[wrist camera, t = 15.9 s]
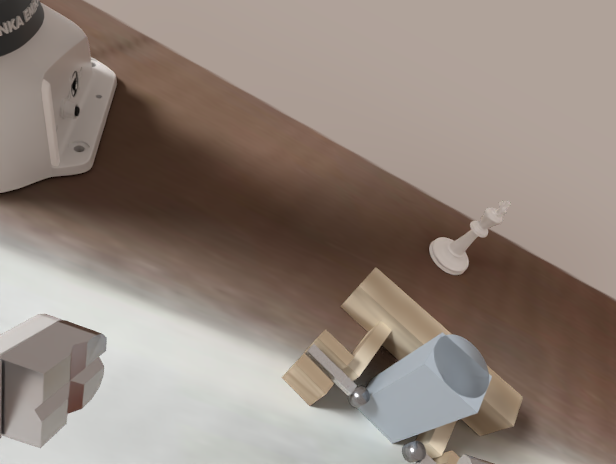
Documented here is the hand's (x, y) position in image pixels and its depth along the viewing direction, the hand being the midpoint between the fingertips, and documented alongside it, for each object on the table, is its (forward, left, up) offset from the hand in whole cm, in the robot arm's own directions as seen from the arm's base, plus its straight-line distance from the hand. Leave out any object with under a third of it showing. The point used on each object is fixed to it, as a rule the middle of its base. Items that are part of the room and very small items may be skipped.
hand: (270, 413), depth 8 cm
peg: (-7, +15, -21) cm, 26 cm away
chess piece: (-25, +24, -21) cm, 41 cm away
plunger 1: (-8, +9, -19) cm, 22 cm away
